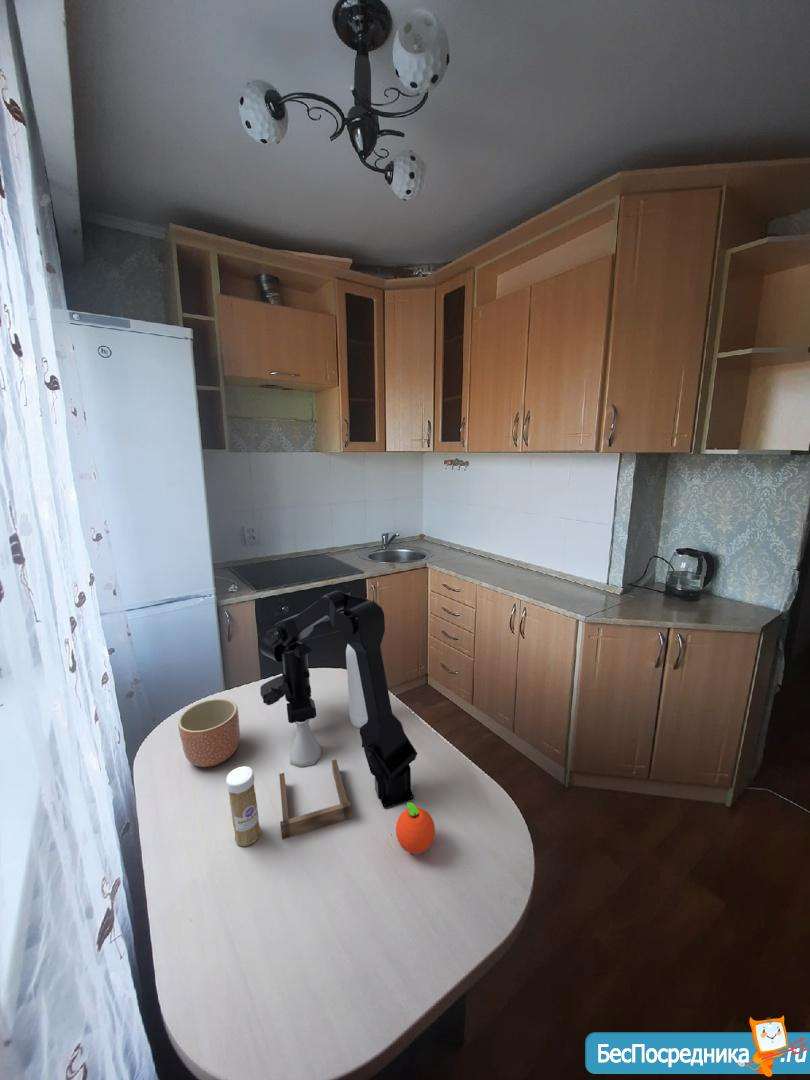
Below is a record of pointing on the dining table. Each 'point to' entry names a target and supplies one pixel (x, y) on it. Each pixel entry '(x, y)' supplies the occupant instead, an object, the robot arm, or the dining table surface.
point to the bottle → (355, 690)
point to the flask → (304, 746)
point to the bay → (318, 817)
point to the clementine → (415, 829)
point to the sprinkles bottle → (243, 805)
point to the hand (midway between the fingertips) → (301, 723)
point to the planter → (210, 731)
